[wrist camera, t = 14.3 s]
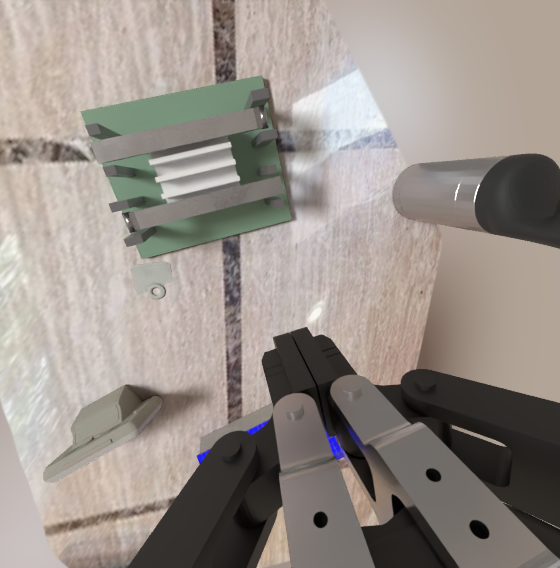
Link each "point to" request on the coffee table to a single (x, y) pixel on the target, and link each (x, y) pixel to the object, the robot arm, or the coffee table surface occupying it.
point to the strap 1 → (179, 134)
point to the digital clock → (103, 429)
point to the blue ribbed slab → (252, 431)
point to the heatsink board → (148, 173)
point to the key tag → (151, 277)
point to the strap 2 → (202, 204)
